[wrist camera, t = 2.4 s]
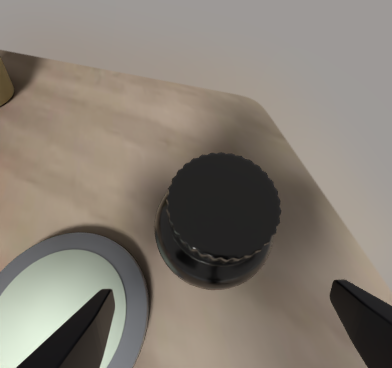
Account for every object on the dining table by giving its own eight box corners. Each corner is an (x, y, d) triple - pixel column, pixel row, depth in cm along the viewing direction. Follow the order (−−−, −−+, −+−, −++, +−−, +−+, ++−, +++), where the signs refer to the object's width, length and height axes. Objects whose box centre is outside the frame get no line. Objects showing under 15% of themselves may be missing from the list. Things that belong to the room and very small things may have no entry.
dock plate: (9, 499, 12) (-12, 523, 11) (-45, 305, 16) (-65, 307, 15) (181, 328, 16) (180, 332, 15) (101, 208, 21) (95, 203, 19)
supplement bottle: (153, 265, 18) (101, 234, 8) (188, 201, 21) (186, 113, 10) (224, 304, 17) (282, 332, 6) (251, 231, 20) (321, 165, 9)
